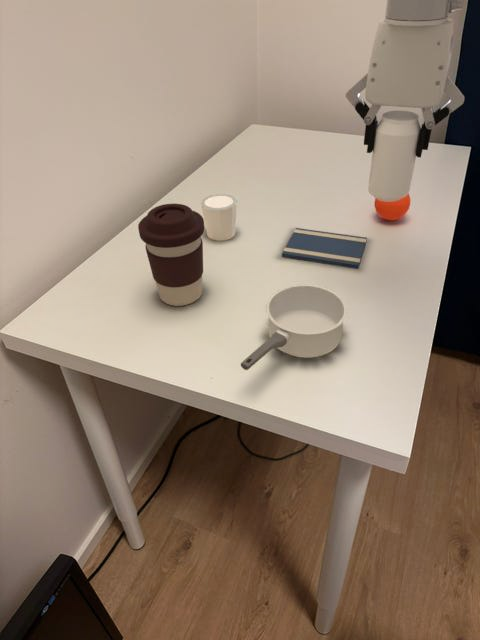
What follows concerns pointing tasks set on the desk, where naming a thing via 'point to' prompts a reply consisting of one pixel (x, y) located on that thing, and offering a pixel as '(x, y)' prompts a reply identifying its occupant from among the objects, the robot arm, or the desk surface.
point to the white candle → (220, 216)
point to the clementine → (392, 208)
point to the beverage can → (394, 155)
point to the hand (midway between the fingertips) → (394, 150)
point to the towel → (325, 248)
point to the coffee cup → (174, 251)
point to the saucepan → (302, 322)
